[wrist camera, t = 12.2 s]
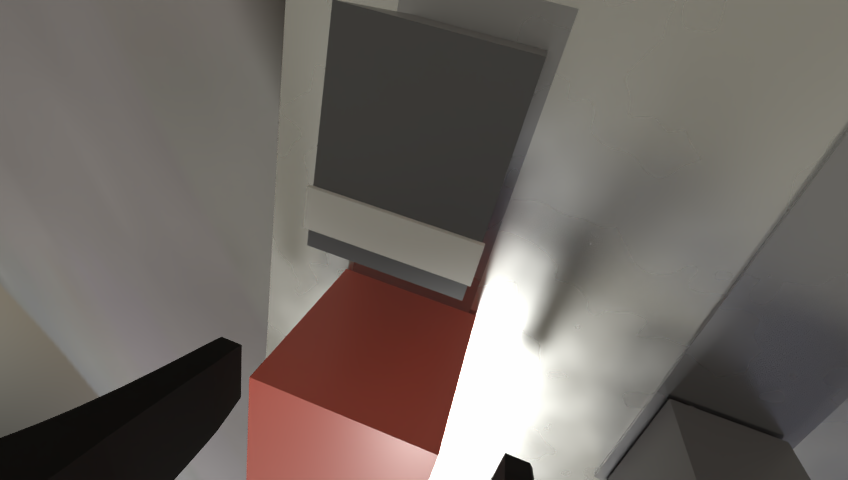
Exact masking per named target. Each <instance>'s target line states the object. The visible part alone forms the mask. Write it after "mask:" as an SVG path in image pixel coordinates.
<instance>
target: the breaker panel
mask: <svg viewBox="0 0 848 480" xmlns="http://www.w3.org/2000/svg"><path fill="white" fill-rule="evenodd" d="M339 1H344V2H350V3H355V4H360V5H366V6H371V7H376V8H381V9H387V10H392V11H397V12H403V13H408V14H412V15H416V16H419V17H423V18H427V19H431V20H434V21H438V22H442V23H446V24H449V25H453V26H457V27H461V28H464V29H468V30H472V31H476V32H479V33H483V34H487V35H491V36H494V37H498V38H502V39H506V40H509V41H513V42H517V43H521V44H524V45H528V46H532V47H536V48H539V49H543V50H547V51H548V52H547V56H546V59H545V62H544V65H543V68H542V71H541V74H540V77H539V80H538V83H537V85H536V88H535V91H534V94H533V97H532V100H531V103H530V106H529V109H528V112H527V115H526V117H525V120H524V123H523V126H522V129H521V132H520V135H519V138H518V141H517V144H516V146H515V149H514V152H513V155H512V158H511V161H510V164H509V167H508V170H507V173H506V176H505V178H504V181H503V184H502V187H501V190H500V193H499V196H498V199H497V202H496V205H495V207H494V210H493V213H492V216H491V219H490V222H489V225H488V228H487V231H486V234H485V237H484V239H483V242H482V243H485V246H484V249H483V252H482V255H481V258H480V261H479V264H478V266H477V269H476V272H475V275H474V278H473V281H472V284H471V287H470V286H467V289H466V292H465V295H464V297H463V300H462V301H461V300H458V299H456V298H453V297H450V296H447V295H444V294H442V293H439V292H436V291H433V290H431V289H428V288H425V287H422V286H419V285H417V284H414V283H411V282H408V281H405V280H403V279H400V278H397V277H394V276H391V275H389V274H386V273H383V272H380V271H378V270H375V269H372V268H369V267H366V266H364V265H361V264H358V263H355V262H352V261H350V260H347V259H344V258H341V257H338V256H336V255H333V254H330V253H327V252H325V251H322V250H319V249H316V248H313V247H311V246H308V245H307V241H308V231H309V229H306V228H304V218H305V208H306V198H307V187H308V186H309V185H313V183H314V173H315V164H316V154H317V144H318V134H319V125H320V115H321V105H322V96H323V86H324V76H325V67H326V57H327V47H328V38H329V28H330V18H331V8H332V0H286V3H285V21H284V39H283V58H282V76H281V94H280V112H279V130H278V149H277V167H276V185H275V203H274V222H273V240H272V258H271V276H270V294H269V313H268V331H267V349H266V358H267V357H268V356H269V355H270V354H271V353H272V352H273V350H274V349H275V348H276V347H277V346H278V345H279V344H280V343H281V341H282V340H283V339H284V338H285V337H286V336H287V335H288V334H289V333H290V331H291V330H292V329H293V328H294V327H295V326H296V325H297V324H298V322H299V321H300V320H301V319H302V318H303V317H304V316H305V315H306V313H307V312H308V311H309V310H310V309H311V308H312V307H313V306H314V305H315V303H316V302H317V301H318V300H319V299H320V298H321V297H322V296H323V294H324V293H325V292H326V291H327V290H328V289H329V288H330V287H331V285H332V284H333V283H334V282H335V281H336V280H337V279H338V278H339V277H340V275H341V274H342V273H343V272H344V271H345V270H346V269H349V270H351V271H354V272H357V273H360V274H362V275H365V276H368V277H371V278H373V279H376V280H379V281H382V282H384V283H387V284H390V285H393V286H396V287H398V288H401V289H404V290H407V291H409V292H412V293H415V294H418V295H420V296H423V297H426V298H429V299H431V300H434V301H437V302H440V303H442V304H445V305H448V306H451V307H453V308H456V309H459V310H462V311H465V312H467V313H470V314H473V315H476V318H475V322H474V326H473V330H472V333H471V337H470V341H469V344H468V348H467V352H466V356H465V359H464V363H463V367H462V370H461V374H460V378H459V382H458V385H457V389H456V393H455V396H454V400H453V404H452V408H451V411H450V415H449V419H448V422H447V426H446V430H445V434H444V437H443V441H442V445H441V448H440V452H439V456H438V458H437V461H436V463H435V466H434V468H433V471H432V473H431V476H430V478H429V480H491V478H492V477H493V475H494V473H495V471H496V469H497V467H498V465H499V463H500V461H501V460H502V458H503V456H504V454H505V453H507V454H509V455H512V456H514V457H517V458H519V459H521V460H524V461H526V462H529V463H530V464H531V466H532V468H533V475H534V480H607V479H608V478H609V477H610V475H611V474H612V473H613V472H614V470H615V469H616V468H617V466H618V465H619V464H620V462H621V461H622V460H623V459H624V457H625V456H626V455H627V453H628V452H629V451H630V449H631V448H632V447H633V445H634V444H635V443H636V442H637V440H638V439H639V438H640V436H641V435H642V434H643V432H644V431H645V430H646V429H647V427H648V426H649V425H650V423H651V422H652V421H653V419H654V418H655V417H656V415H657V414H658V413H659V412H660V410H661V409H662V408H663V406H664V405H665V404H666V402H667V401H668V400H669V399H672V400H675V401H677V402H680V403H683V404H686V405H688V406H691V407H694V408H697V409H699V410H702V411H705V412H707V413H710V414H713V415H716V416H718V417H721V418H724V419H727V420H729V421H732V422H735V423H738V424H740V425H743V426H746V427H748V428H751V429H754V430H757V431H759V432H762V433H765V434H768V435H770V436H773V437H776V438H779V439H781V440H784V441H787V442H789V444H790V445H791V447H792V449H793V450H794V452H795V454H796V455H797V457H798V459H799V460H800V462H801V464H802V466H803V467H804V469H805V471H806V472H807V474H808V476H809V477H810V479H811V480H848V0H339Z"/></svg>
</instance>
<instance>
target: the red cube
mask: <svg viewBox="0 0 848 480" xmlns="http://www.w3.org/2000/svg"><path fill="white" fill-rule="evenodd" d="M475 318H476V315H473V314H470V313H467V312H465V311H462V310H459V309H456V308H453V307H451V306H448V305H445V304H442V303H440V302H437V301H434V300H431V299H429V298H426V297H423V296H420V295H418V294H415V293H412V292H409V291H407V290H404V289H401V288H398V287H396V286H393V285H390V284H387V283H384V282H382V281H379V280H376V279H373V278H371V277H368V276H365V275H362V274H360V273H357V272H354V271H351V270H349V269H346V270H345V271H344V272H343V273H342V274H341V275H340V277H339V278H338V279H337V280H336V281H335V282H334V283H333V284H332V285H331V287H330V288H329V289H328V290H327V291H326V292H325V293H324V294H323V296H322V297H321V298H320V299H319V300H318V301H317V302H316V303H315V305H314V306H313V307H312V308H311V309H310V310H309V311H308V312H307V313H306V315H305V316H304V317H303V318H302V319H301V320H300V321H299V322H298V324H297V325H296V326H295V327H294V328H293V329H292V330H291V331H290V333H289V334H288V335H287V336H286V337H285V338H284V339H283V340H282V341H281V343H280V344H279V345H278V346H277V347H276V348H275V349H274V350H273V352H272V353H271V354H270V355H269V356H268V357H267V358H266V359H265V360H264V362H263V363H262V364H261V365H260V366H259V367H258V368H257V369H256V371H255V372H254V373H253V374H252V375H251V376H250V379H249V413H248V447H247V480H429V478H430V476H431V473H432V471H433V468H434V466H435V463H436V461H437V458H438V456H439V452H440V448H441V445H442V441H443V437H444V434H445V430H446V426H447V422H448V419H449V415H450V411H451V408H452V404H453V400H454V396H455V393H456V389H457V385H458V382H459V378H460V374H461V370H462V367H463V363H464V359H465V356H466V352H467V348H468V344H469V341H470V337H471V333H472V330H473V326H474V322H475Z"/></svg>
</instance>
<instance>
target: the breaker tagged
mask: <svg viewBox="0 0 848 480" xmlns="http://www.w3.org/2000/svg"><path fill="white" fill-rule="evenodd" d="M547 52H548V51H547V50H543V49H539V48H536V47H532V46H528V45H524V44H521V43H517V42H513V41H509V40H506V39H502V38H498V37H494V36H491V35H487V34H483V33H479V32H476V31H472V30H468V29H464V28H461V27H457V26H453V25H449V24H446V23H442V22H438V21H434V20H431V19H427V18H423V17H419V16H416V15H412V14H408V13H403V12H397V11H392V10H387V9H381V8H376V7H371V6H366V5H360V4H355V3H350V2H344V1H339V0H332V8H331V18H330V28H329V38H328V47H327V57H326V67H325V76H324V86H323V96H322V105H321V115H320V125H319V134H318V144H317V154H316V164H315V173H314V183H313V185H309V186H308V187H307V198H306V208H305V218H304V228H306V229H309V231H308V241H307V245H308V246H311V247H313V248H316V249H319V250H322V251H325V252H327V253H330V254H333V255H336V256H338V257H341V258H344V259H347V260H350V261H352V262H355V263H358V264H361V265H364V266H366V267H369V268H372V269H375V270H378V271H380V272H383V273H386V274H389V275H391V276H394V277H397V278H400V279H403V280H405V281H408V282H411V283H414V284H417V285H419V286H422V287H425V288H428V289H431V290H433V291H436V292H439V293H442V294H444V295H447V296H450V297H453V298H456V299H458V300H461V301H462V300H463V297H464V295H465V292H466V289H467V286H470V287H471V284H472V281H473V278H474V275H475V272H476V269H477V266H478V264H479V261H480V258H481V255H482V252H483V249H484V246H485V243H482V242H483V239H484V237H485V234H486V231H487V228H488V225H489V222H490V219H491V216H492V213H493V210H494V207H495V205H496V202H497V199H498V196H499V193H500V190H501V187H502V184H503V181H504V178H505V176H506V173H507V170H508V167H509V164H510V161H511V158H512V155H513V152H514V149H515V146H516V144H517V141H518V138H519V135H520V132H521V129H522V126H523V123H524V120H525V117H526V115H527V112H528V109H529V106H530V103H531V100H532V97H533V94H534V91H535V88H536V85H537V83H538V80H539V77H540V74H541V71H542V68H543V65H544V62H545V59H546V56H547Z"/></svg>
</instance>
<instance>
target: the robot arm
mask: <svg viewBox="0 0 848 480" xmlns="http://www.w3.org/2000/svg"><path fill="white" fill-rule="evenodd" d="M241 349H242V345H240V344H238V343H235V342H233V341H230V340H228V339H226V338H223V337H220V338H218V339H216V340H214V341H212V342H210V343H208V344H206V345H204V346H202V347H200V348H198V349H196V350H194V351H192V352H191V353H189V354H187V355H185V356H183V357H181V358H179V359H177V360H175V361H173V362H171V363H169V364H167V365H165V366H163V367H161V368H159V369H157V370H155V371H153V372H151V373H149V374H147V375H145V376H143V377H141V378H139V379H137V380H135V381H133V382H131V383H129V384H127V385H125V386H123V387H121V388H118V389H116V390H114V391H112V392H110V393H108V394H105V395H103V396H101V397H99V398H96V399H94V400H92V401H90V402H88V403H86V404H83V405H81V406H79V407H77V408H74V409H72V410H70V411H67V412H65V413H63V414H60V415H58V416H55V417H53V418H50V419H48V420H46V421H43V422H41V423H39V424H36V425H33V426H30V427H28V428H25V429H23V430H20V431H18V432H15V433H12V434H10V435H7V436H4V437H2V438H0V480H174V479H175V478H176V477H177V476H178V475H179V474H180V473H181V471H182V470H183V469H184V468H185V467H186V466H187V465H188V464H189V462H190V461H191V460H192V459H193V458H194V457H195V456H196V455H197V453H198V452H199V451H200V450H201V449H202V448H203V447H204V445H205V444H206V443H207V442H208V441H209V440H210V439H211V437H212V436H213V435H214V434H215V433H216V431H217V430H218V429H219V427H220V426H221V425H222V423H223V422H224V420H225V419H226V418H227V416H228V415H229V413H230V412H231V411H232V409H233V408H234V406H235V405H236V403H237V402H238V400H239V399H240V398H241ZM491 480H534V475H533V468H532V466H531V464H530V463H529V462H526V461H524V460H521V459H519V458H517V457H514V456H512V455H509V454H507V453H505V454H504V456H503V458H502V460H501V461H500V463H499V465H498V467H497V469H496V471H495V473H494V475H493V477H492V478H491Z"/></svg>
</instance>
